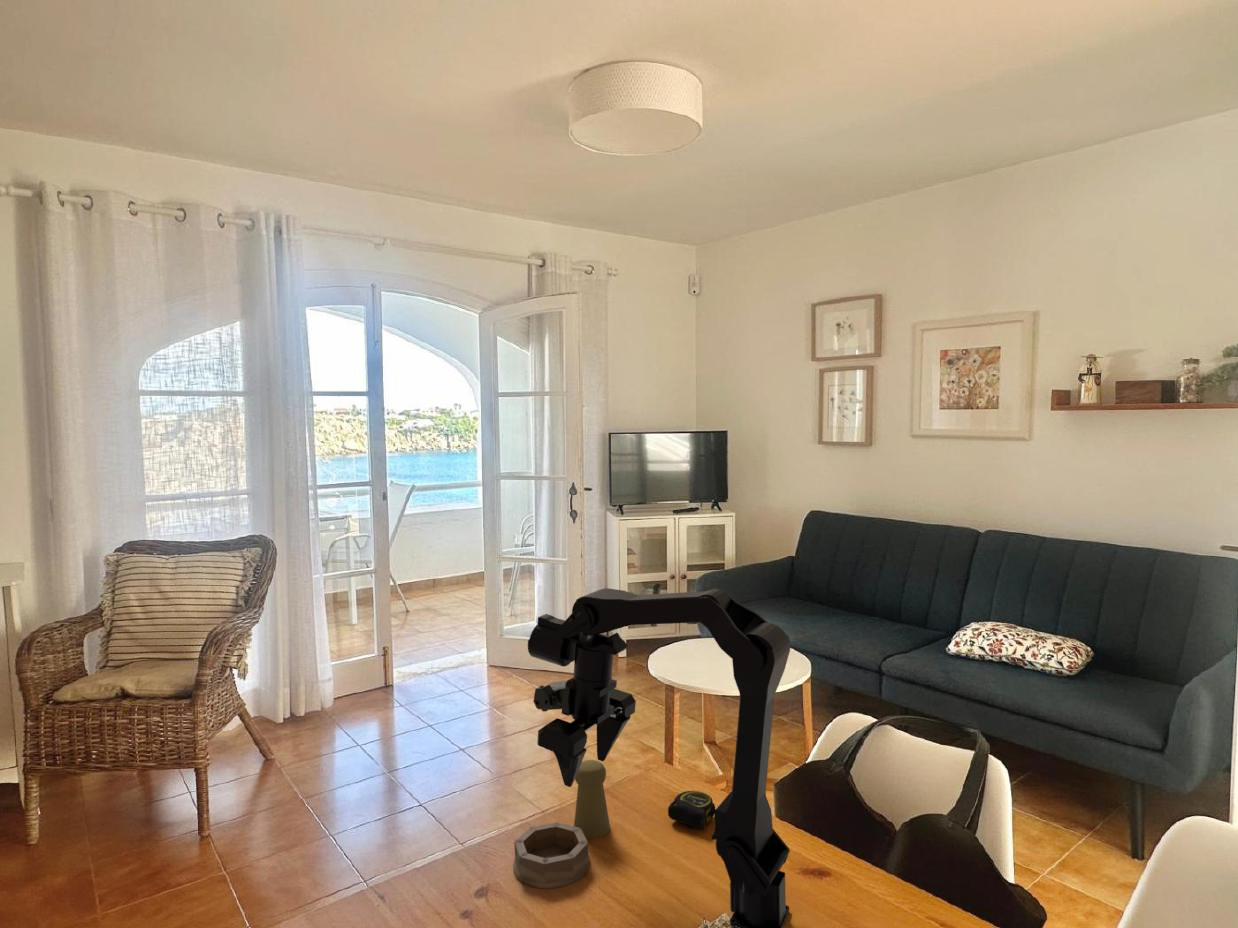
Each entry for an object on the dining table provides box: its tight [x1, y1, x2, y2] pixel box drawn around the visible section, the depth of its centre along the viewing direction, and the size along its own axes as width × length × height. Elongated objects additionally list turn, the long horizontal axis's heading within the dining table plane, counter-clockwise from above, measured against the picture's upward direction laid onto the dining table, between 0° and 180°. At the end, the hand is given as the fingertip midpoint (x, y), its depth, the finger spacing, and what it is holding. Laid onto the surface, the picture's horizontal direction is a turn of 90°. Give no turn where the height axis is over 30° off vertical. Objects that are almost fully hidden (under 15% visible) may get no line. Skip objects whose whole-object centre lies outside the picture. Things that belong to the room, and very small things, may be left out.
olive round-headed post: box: [573, 759, 611, 839], centre depth 125 cm, size 6×6×11 cm
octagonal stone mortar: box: [512, 821, 591, 890], centre depth 115 cm, size 12×12×4 cm
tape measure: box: [667, 790, 716, 830], centre depth 127 cm, size 7×7×4 cm
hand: (585, 772), depth 114 cm, fingers open, 9 cm apart
